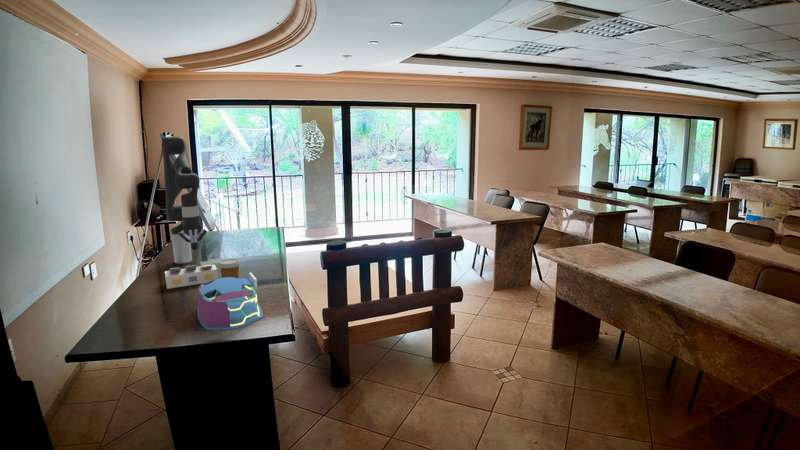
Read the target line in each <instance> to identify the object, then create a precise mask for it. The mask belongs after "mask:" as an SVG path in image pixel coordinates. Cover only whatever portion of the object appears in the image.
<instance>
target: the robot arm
mask: <svg viewBox="0 0 800 450" xmlns="http://www.w3.org/2000/svg"><path fill="white" fill-rule="evenodd" d="M161 151H162V160H163V170H164V171H163V173H164V175H163V177H164V180H163V181H164V189H165V215H166V216H165V217H166V220H167V221H168V222H170V223H172V222H173V223H175V222H180V223H179V224H177V225H176V226H174V227H172V228H171V230H170V234H171V242H172V243H171V244H172V250H173V252H172V253H173V259H174V263H175V264H179V265H181V264H188V263H190V262H193V255H192V251H197V249H199V246H198V245H199V244H198V243H199V242H201V241H202V240H203V238H204V237H205V236H206V234H207V231H208V230H207V229H206V228H203V227H202V225H201V217H200V209H199V204H198V191H199V186H200V183H201V182H200V181H201V180H200V176H198V174H196V173H194V172H193V171H192V167H191V165H190V161H189V160H190V159H189V153H188V148H187V142H186V140H185V138H184V137H182V136H163V137H162V139H161ZM173 155H174V156H175V155H178V156H177V157H176V158H175V160H174V162H173V160H172V159H171V156H173ZM184 189H185V190H186V189H191V190H190V191H189V192H186V193H183V194H181V192H183V190H184ZM180 194H181V196H180V201H181V204H175V205H174V203H175V201H176V199H177V198H178V196H179V195H180ZM200 232H201V233H200ZM198 235H199V236H198Z"/></svg>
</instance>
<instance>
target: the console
mask: <svg viewBox="0 0 800 450" xmlns="http://www.w3.org/2000/svg"><path fill="white" fill-rule="evenodd" d="M211 265H212V268H211V269H204V270H202V267H201V265H200V266H196V268H194V269H187V270H186V269H185V268H181V271H174V272H170V270H165V271H164V276H165V284H166V285H165V286H166V290H169V289H175V288H181V287H187V286H194V285H199V284H200V285H201V284H204V283H207V282H210V281H213V280H216V279H219V274H218V273H219V272H218V268H217V266H216V264H211Z"/></svg>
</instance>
